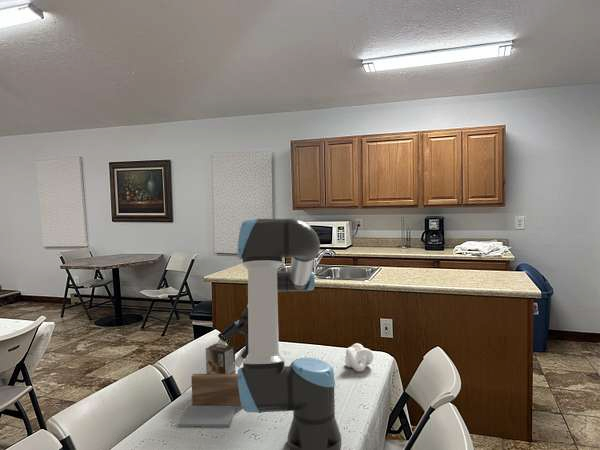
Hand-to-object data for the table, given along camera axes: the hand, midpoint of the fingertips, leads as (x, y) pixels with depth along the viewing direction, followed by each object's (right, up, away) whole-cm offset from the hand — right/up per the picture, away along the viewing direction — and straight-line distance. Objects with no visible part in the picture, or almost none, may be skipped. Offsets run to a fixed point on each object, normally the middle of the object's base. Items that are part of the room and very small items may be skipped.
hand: (224, 361), depth 153 cm
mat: (-2, -11, -21) cm, 23 cm away
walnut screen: (+1, -11, -12) cm, 16 cm away
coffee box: (-1, -10, -2) cm, 11 cm away
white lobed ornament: (+51, -9, +16) cm, 54 cm away
